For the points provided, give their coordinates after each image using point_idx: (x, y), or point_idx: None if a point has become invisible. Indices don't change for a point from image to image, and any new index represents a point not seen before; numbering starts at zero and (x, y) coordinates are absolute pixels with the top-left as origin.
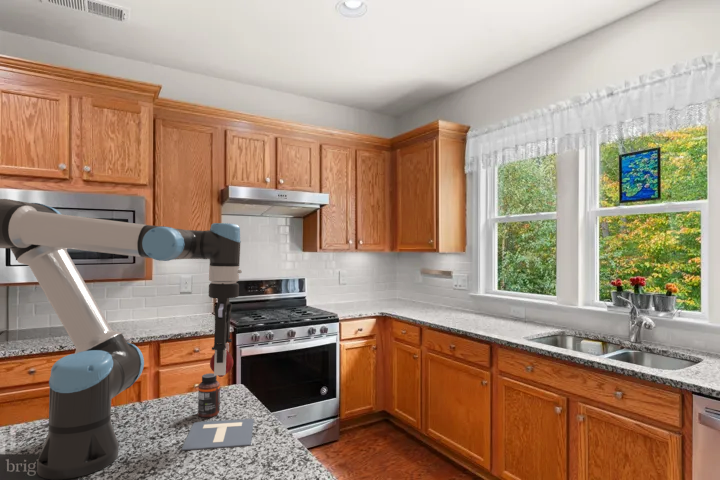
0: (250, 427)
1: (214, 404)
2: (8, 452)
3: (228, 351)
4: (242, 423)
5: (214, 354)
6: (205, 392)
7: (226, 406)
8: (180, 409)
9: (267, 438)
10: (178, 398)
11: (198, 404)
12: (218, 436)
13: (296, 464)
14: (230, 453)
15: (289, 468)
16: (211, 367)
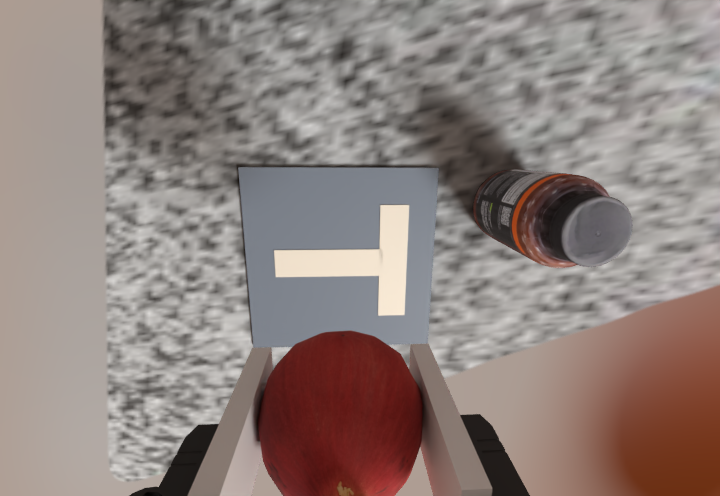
0: None
1: (493, 234)
2: None
3: (434, 493)
4: (396, 315)
5: (315, 420)
6: (513, 210)
7: None
8: (582, 93)
9: None
10: (708, 59)
11: (515, 174)
12: (311, 260)
13: (148, 443)
14: (212, 301)
15: (130, 430)
16: (294, 346)
